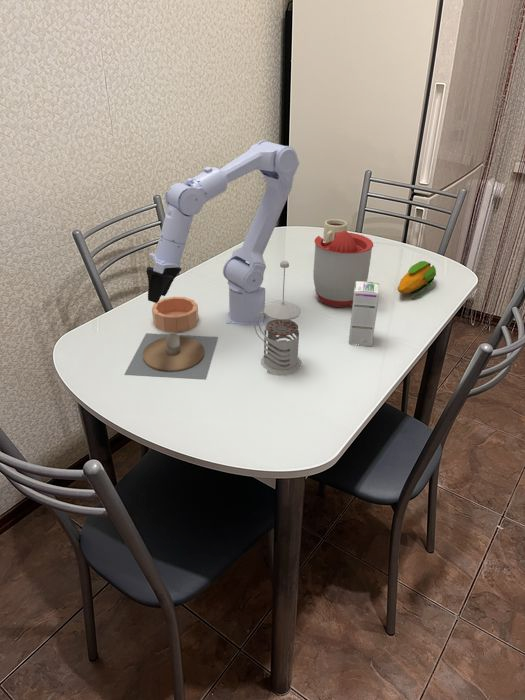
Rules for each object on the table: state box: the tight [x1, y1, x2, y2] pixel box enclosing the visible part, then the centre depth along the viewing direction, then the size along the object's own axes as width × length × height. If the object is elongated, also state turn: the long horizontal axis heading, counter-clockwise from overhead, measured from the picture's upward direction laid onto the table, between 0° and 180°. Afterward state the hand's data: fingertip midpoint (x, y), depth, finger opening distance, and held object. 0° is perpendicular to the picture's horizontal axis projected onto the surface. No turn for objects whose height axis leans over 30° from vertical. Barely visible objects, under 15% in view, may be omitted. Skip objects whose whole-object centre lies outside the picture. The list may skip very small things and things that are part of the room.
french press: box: [253, 259, 302, 376], centre depth 113 cm, size 10×12×25 cm
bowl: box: [151, 296, 199, 333], centre depth 133 cm, size 11×11×4 cm
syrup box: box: [348, 281, 380, 347], centre depth 124 cm, size 6×6×14 cm
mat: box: [124, 332, 219, 381], centre depth 120 cm, size 18×18×1 cm
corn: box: [396, 260, 437, 297], centre depth 151 cm, size 7×8×20 cm
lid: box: [143, 333, 204, 372], centre depth 119 cm, size 14×14×5 cm
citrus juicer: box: [312, 230, 374, 308], centre depth 143 cm, size 16×17×20 cm
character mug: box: [322, 218, 348, 243], centre depth 167 cm, size 11×7×13 cm, turn 148°
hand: (156, 297), depth 117 cm, fingers open, 7 cm apart
